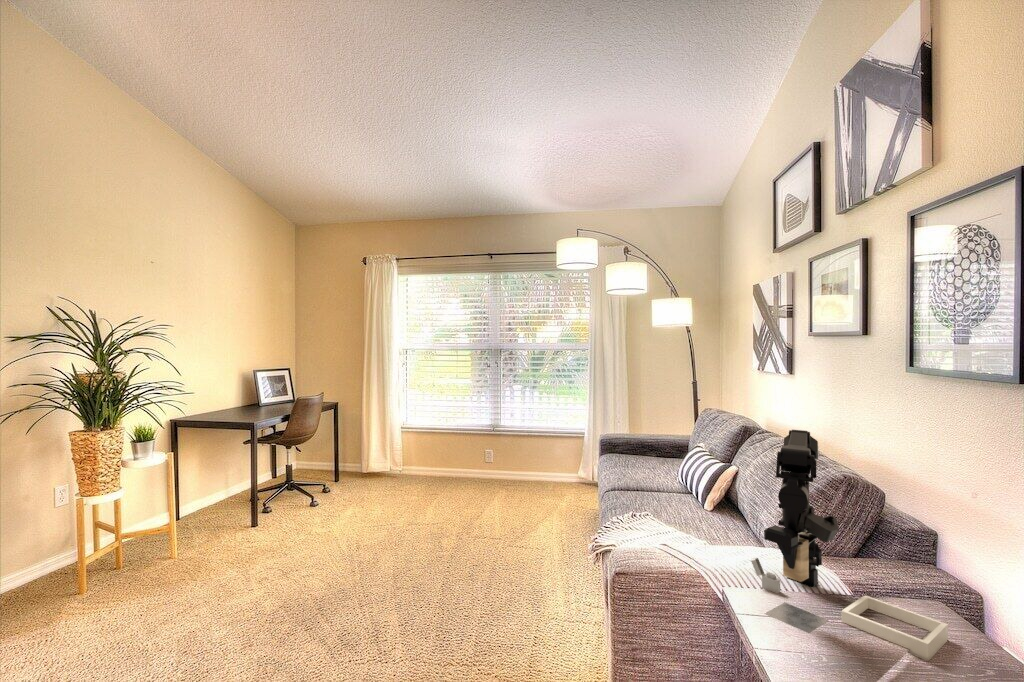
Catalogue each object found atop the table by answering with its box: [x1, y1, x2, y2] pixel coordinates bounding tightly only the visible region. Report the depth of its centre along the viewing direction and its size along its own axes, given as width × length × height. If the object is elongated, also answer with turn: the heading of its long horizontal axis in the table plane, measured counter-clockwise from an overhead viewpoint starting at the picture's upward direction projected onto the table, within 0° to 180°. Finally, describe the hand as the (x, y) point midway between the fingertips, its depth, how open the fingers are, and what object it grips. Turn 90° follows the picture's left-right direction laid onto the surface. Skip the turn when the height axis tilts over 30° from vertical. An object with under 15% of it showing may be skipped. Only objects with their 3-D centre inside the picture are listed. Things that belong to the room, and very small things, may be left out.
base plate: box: [764, 602, 829, 634], centre depth 116 cm, size 10×10×1 cm
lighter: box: [750, 557, 781, 594], centre depth 131 cm, size 7×2×8 cm, turn 38°
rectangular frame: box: [840, 595, 949, 662], centre depth 111 cm, size 16×14×4 cm
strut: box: [782, 537, 809, 582], centre depth 116 cm, size 4×4×9 cm
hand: (795, 566), depth 116 cm, fingers closed on strut, 4 cm apart
